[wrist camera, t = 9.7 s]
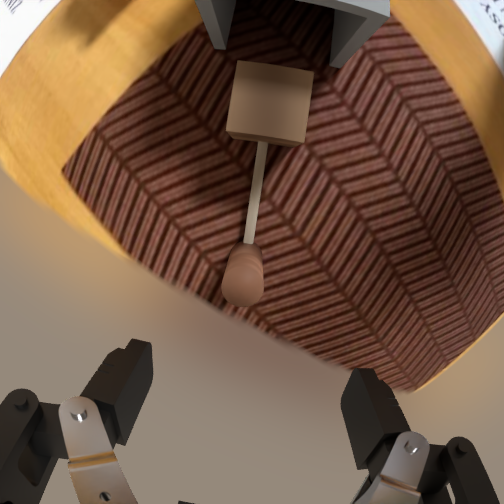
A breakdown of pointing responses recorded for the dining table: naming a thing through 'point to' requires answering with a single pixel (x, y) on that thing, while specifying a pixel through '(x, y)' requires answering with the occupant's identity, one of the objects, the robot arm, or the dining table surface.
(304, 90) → the brown square-headed paddle
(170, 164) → the dining table surface
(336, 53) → the block
